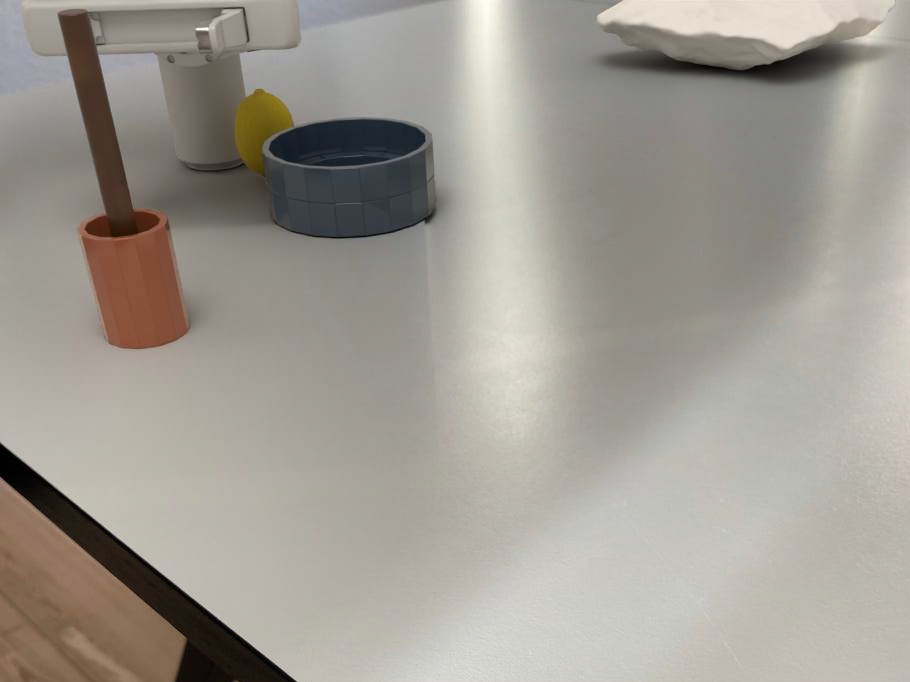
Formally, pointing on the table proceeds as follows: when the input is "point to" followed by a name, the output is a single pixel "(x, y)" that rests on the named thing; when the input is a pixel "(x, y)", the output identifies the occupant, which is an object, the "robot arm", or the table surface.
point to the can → (204, 111)
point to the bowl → (350, 176)
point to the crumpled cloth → (740, 27)
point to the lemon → (259, 126)
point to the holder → (135, 281)
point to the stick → (98, 120)
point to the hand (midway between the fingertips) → (139, 42)
